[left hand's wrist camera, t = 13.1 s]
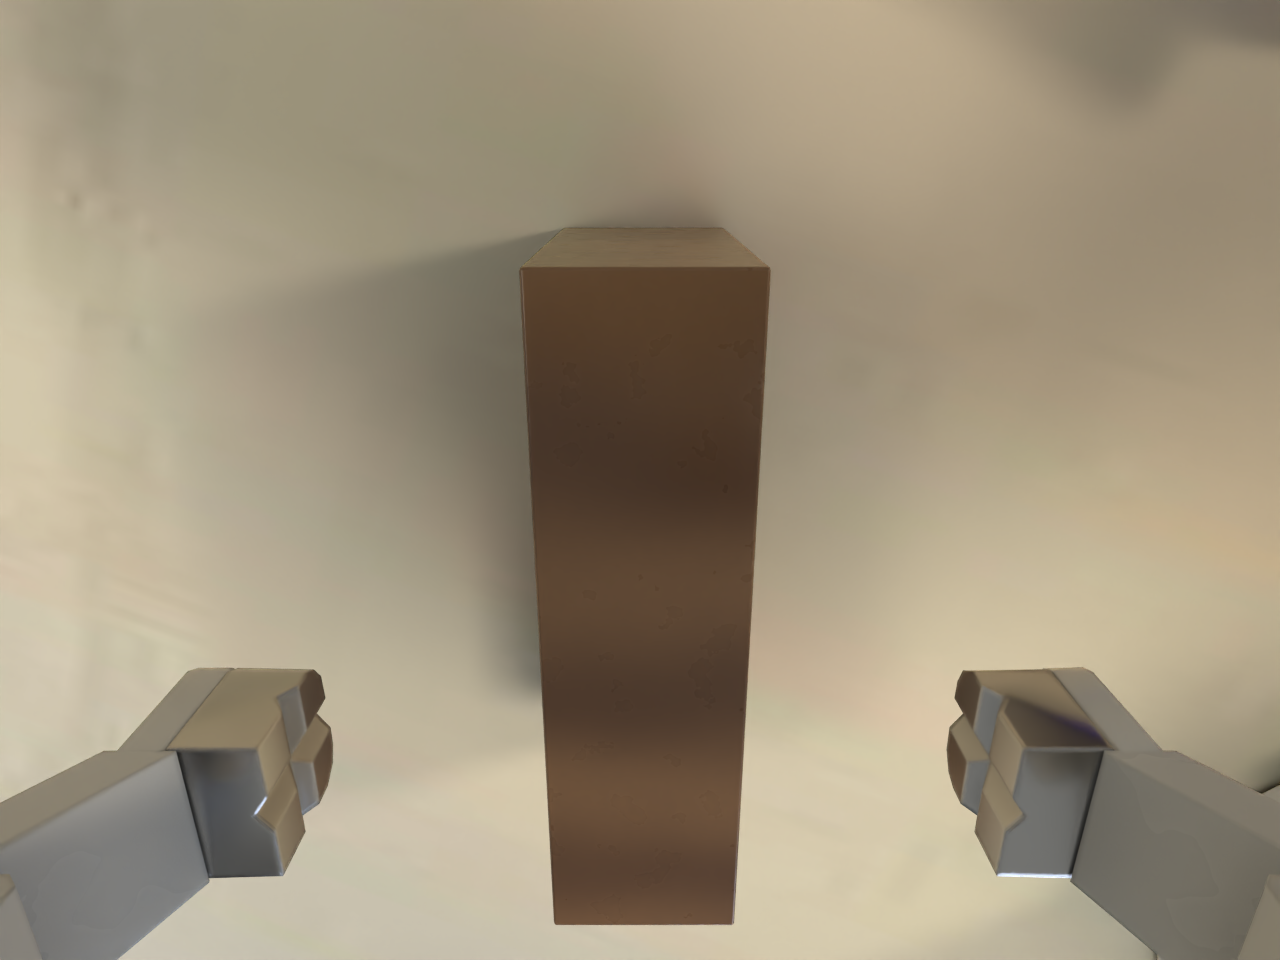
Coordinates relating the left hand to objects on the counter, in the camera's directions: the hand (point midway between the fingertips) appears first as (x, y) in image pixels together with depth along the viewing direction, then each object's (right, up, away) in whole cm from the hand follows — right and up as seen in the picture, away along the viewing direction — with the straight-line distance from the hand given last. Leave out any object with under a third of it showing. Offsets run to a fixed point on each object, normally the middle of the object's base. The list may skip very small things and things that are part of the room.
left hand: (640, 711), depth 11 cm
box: (0, +2, +23) cm, 23 cm away
